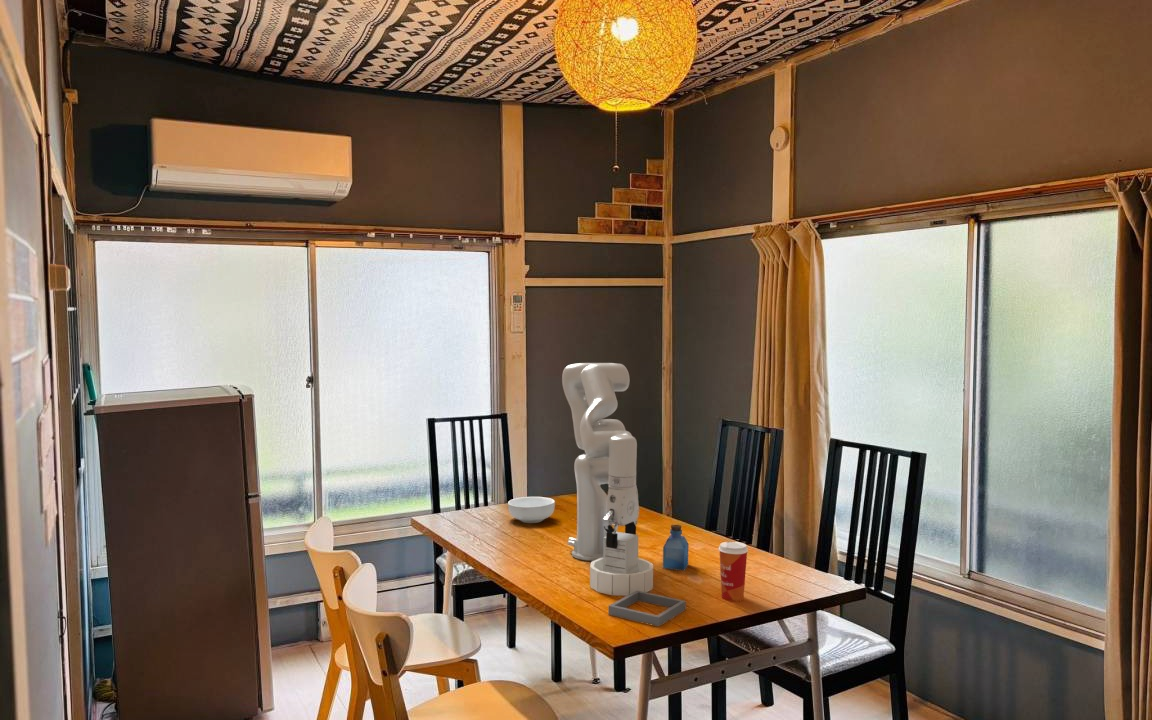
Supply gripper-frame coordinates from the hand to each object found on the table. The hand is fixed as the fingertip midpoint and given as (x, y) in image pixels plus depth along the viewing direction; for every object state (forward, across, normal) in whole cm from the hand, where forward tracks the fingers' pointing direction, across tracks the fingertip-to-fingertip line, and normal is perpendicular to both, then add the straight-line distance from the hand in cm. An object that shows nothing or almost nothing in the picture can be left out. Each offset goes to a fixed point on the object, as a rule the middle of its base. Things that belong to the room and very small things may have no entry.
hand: (621, 543), depth 226 cm
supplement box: (+11, -1, 0) cm, 11 cm away
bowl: (+12, -1, -1) cm, 12 cm away
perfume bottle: (+12, +23, -5) cm, 27 cm away
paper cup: (+11, +7, -30) cm, 33 cm away
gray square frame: (+11, -15, -17) cm, 25 cm away
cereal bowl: (+14, +42, +63) cm, 77 cm away
